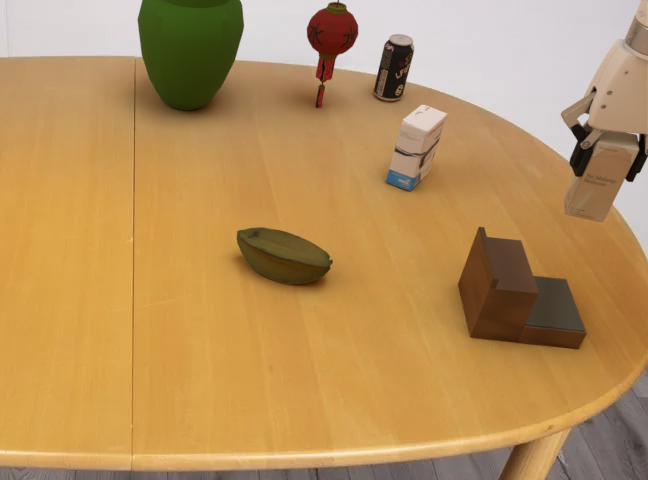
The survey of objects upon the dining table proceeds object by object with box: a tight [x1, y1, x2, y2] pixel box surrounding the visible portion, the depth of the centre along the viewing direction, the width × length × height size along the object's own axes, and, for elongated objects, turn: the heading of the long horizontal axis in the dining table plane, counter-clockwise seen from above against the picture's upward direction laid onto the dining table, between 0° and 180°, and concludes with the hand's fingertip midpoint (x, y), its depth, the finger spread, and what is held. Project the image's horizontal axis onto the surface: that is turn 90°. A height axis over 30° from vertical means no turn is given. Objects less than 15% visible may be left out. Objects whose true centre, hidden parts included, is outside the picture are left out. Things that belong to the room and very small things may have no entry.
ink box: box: [385, 104, 448, 192], centre depth 149 cm, size 8×5×12 cm, turn 143°
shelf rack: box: [457, 226, 588, 350], centre depth 123 cm, size 15×12×11 cm
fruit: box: [236, 226, 334, 286], centre depth 130 cm, size 11×12×7 cm
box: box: [563, 130, 639, 223], centre depth 113 cm, size 5×4×11 cm
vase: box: [137, 0, 245, 111], centre depth 162 cm, size 20×20×24 cm
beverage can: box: [373, 33, 415, 102], centre depth 171 cm, size 6×6×12 cm
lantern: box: [306, 0, 359, 109], centre depth 161 cm, size 10×10×30 cm
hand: (601, 172), depth 112 cm, fingers closed on box, 5 cm apart
